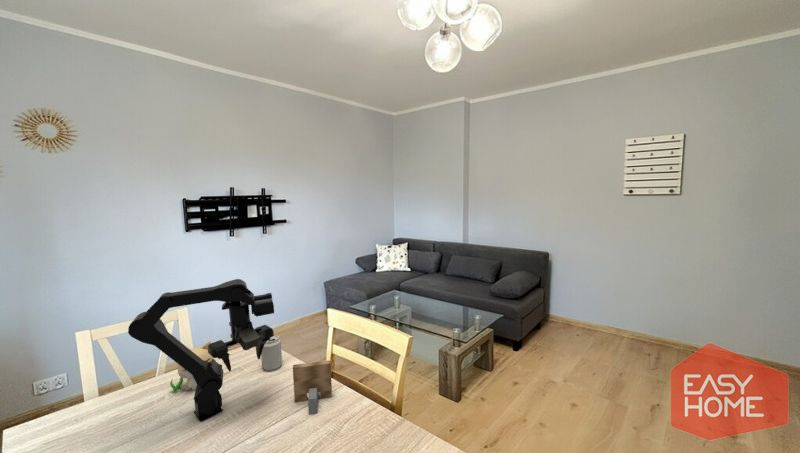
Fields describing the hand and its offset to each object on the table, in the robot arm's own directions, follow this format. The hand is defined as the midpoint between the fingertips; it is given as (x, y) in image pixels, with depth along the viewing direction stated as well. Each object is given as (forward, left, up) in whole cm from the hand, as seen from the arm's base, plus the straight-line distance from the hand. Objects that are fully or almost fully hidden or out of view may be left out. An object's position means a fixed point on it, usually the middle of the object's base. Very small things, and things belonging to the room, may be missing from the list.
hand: (244, 364), depth 107 cm
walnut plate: (+16, -15, -13) cm, 25 cm away
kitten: (-8, +23, -13) cm, 28 cm away
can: (+16, +14, -13) cm, 25 cm away
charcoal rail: (+16, -15, -13) cm, 25 cm away
